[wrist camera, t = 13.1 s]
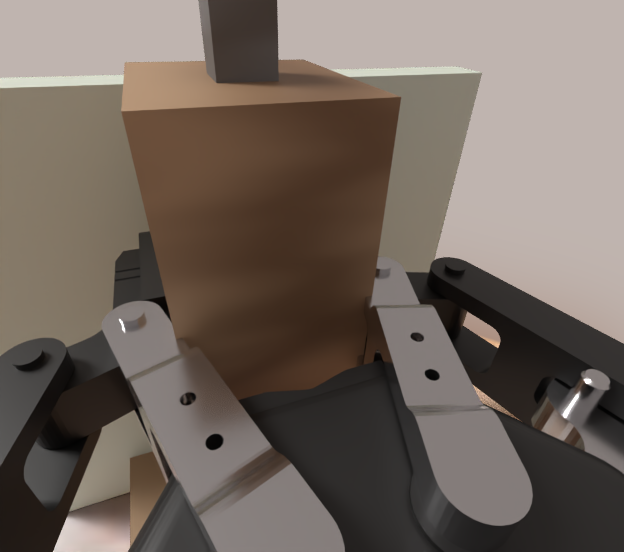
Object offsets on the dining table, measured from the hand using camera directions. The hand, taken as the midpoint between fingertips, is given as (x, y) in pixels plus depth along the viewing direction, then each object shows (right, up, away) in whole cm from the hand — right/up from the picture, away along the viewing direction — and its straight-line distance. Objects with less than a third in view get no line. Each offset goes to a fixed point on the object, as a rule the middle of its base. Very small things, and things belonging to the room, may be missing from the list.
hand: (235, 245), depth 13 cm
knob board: (+1, -7, +2) cm, 7 cm away
